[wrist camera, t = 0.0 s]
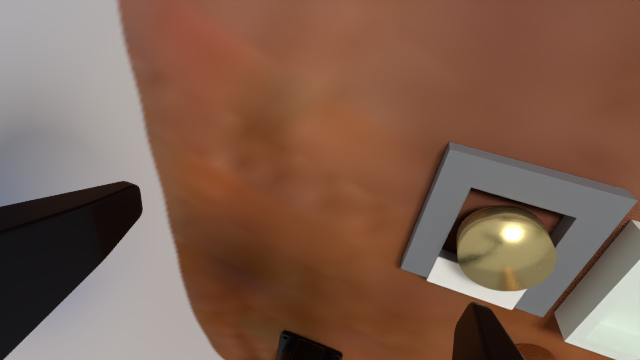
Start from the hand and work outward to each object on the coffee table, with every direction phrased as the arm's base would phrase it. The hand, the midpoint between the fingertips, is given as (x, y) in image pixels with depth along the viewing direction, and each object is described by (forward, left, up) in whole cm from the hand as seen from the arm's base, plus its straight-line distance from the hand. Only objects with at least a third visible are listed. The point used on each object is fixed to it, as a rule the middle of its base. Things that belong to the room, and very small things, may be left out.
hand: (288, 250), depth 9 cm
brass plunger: (-6, -10, -13) cm, 18 cm away
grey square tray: (-6, -10, -15) cm, 19 cm away
